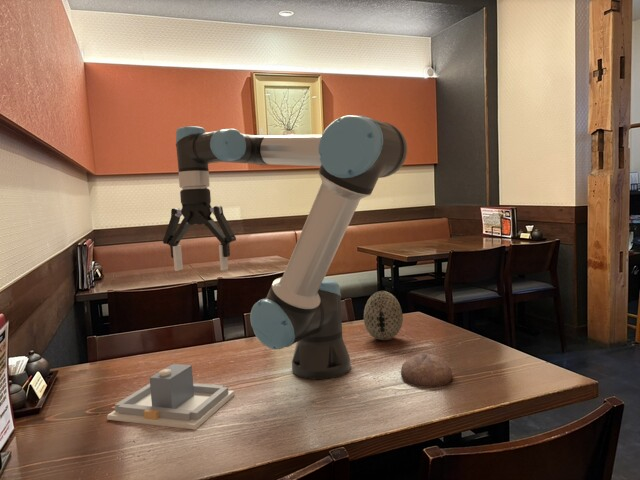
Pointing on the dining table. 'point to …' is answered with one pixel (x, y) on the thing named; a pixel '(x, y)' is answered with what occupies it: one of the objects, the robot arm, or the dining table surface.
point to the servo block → (172, 386)
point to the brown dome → (426, 371)
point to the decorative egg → (383, 316)
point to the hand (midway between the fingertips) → (201, 270)
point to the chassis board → (184, 416)
